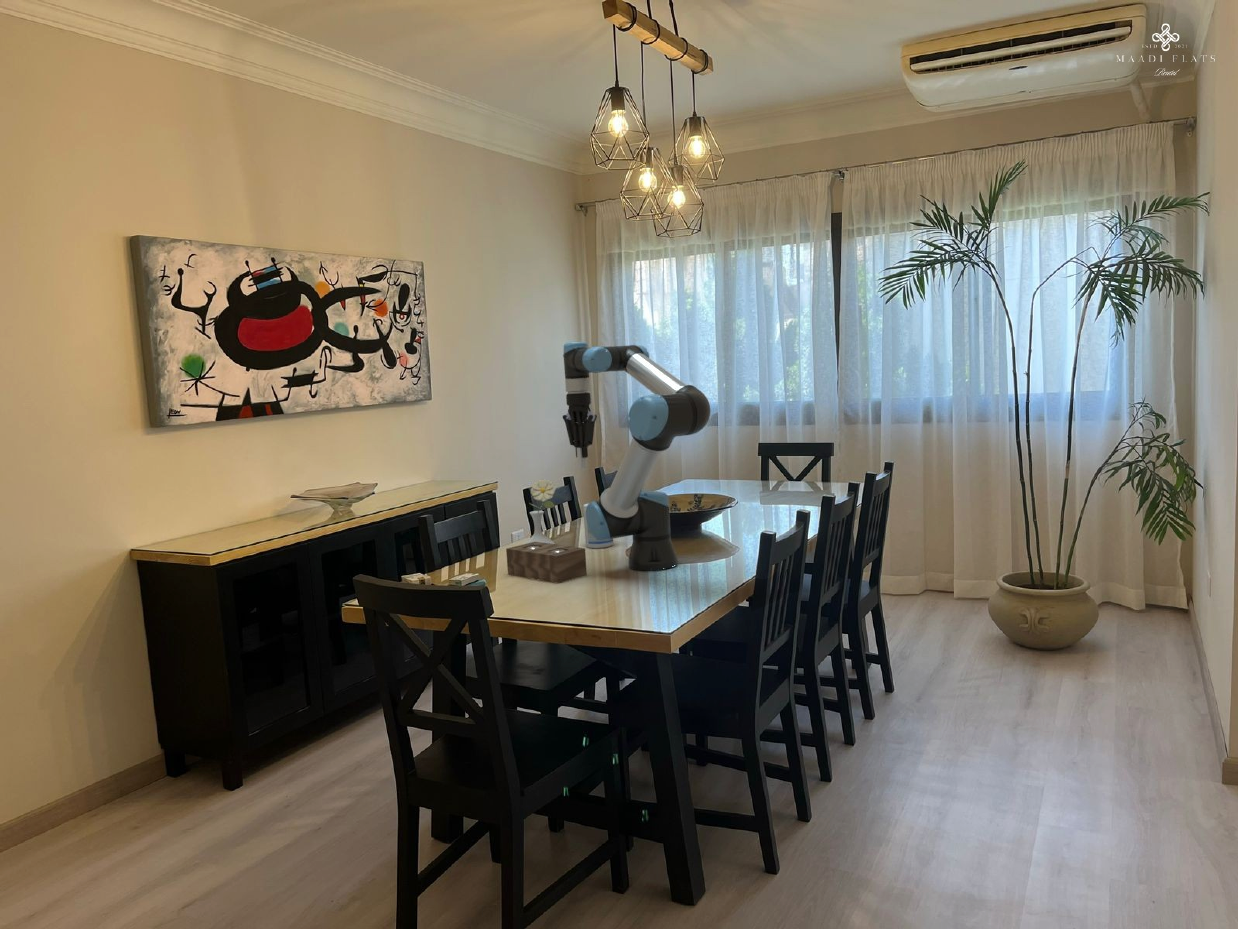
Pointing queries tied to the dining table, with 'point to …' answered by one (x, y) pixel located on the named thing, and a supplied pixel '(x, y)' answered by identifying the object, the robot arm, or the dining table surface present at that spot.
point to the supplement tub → (590, 539)
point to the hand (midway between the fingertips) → (582, 468)
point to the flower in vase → (540, 492)
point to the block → (546, 562)
